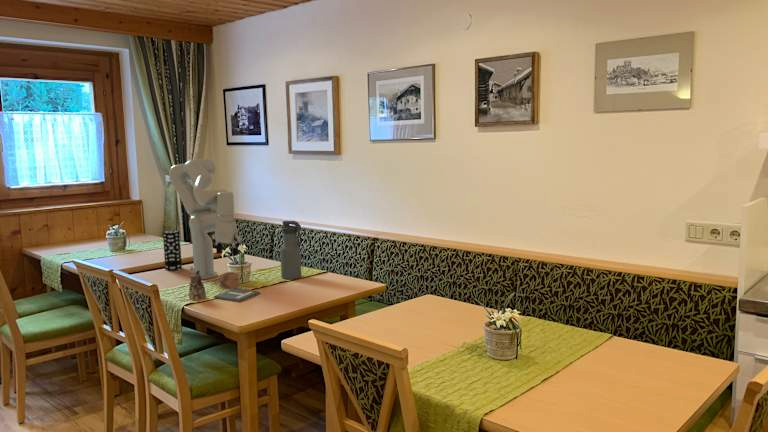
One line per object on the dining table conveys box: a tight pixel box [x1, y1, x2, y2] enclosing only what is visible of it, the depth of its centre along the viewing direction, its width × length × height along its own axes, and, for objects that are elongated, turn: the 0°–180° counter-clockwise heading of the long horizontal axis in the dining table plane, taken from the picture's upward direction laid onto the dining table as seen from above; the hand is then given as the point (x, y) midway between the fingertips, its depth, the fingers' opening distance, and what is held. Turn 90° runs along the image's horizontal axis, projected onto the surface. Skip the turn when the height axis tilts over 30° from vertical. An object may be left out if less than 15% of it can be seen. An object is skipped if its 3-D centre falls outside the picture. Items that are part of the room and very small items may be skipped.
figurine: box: [188, 270, 207, 301], centre depth 263 cm, size 7×7×12 cm
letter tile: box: [213, 287, 261, 303], centre depth 266 cm, size 14×14×1 cm
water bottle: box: [279, 220, 302, 280], centre depth 295 cm, size 10×10×28 cm
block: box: [219, 271, 240, 290], centre depth 282 cm, size 6×6×6 cm
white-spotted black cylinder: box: [162, 229, 183, 272], centre depth 315 cm, size 8×8×20 cm
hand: (227, 254), depth 280 cm, fingers open, 9 cm apart
